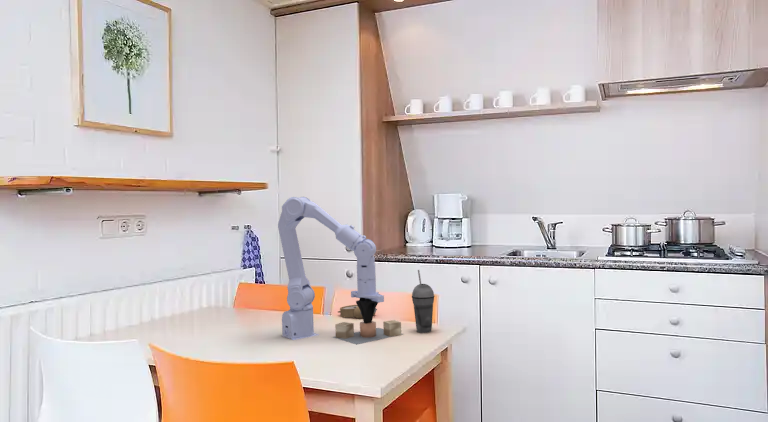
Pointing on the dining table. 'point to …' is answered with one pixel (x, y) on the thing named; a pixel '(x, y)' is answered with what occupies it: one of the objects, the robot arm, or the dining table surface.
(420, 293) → the beverage cup
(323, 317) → the dining table surface
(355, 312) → the alarm clock
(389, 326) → the birch cube
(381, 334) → the slate mat
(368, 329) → the tan rounded piece
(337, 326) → the birch cube
